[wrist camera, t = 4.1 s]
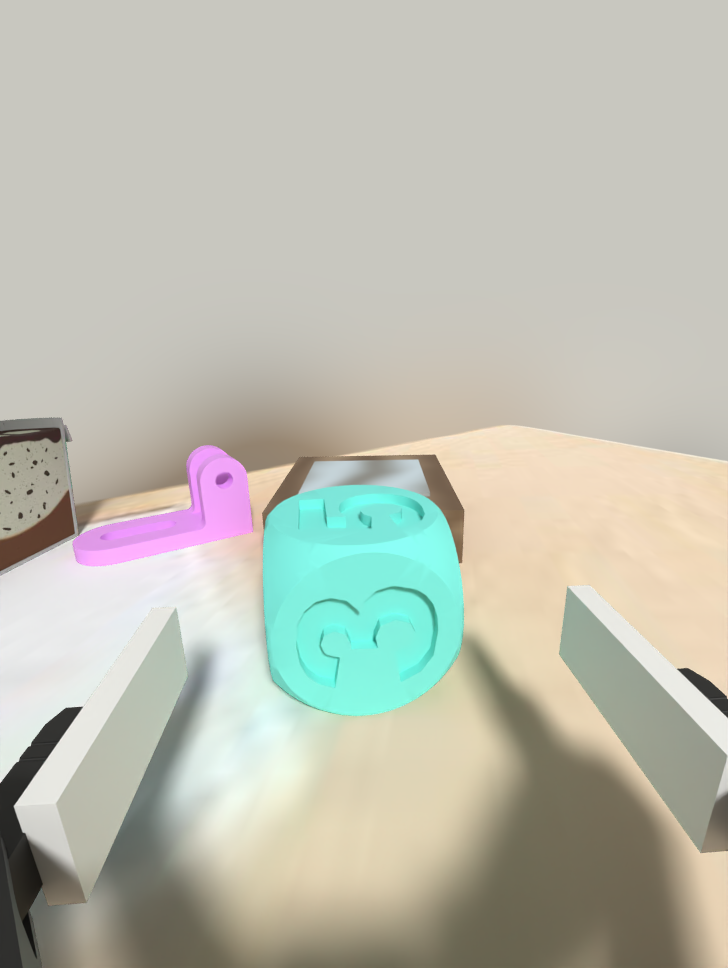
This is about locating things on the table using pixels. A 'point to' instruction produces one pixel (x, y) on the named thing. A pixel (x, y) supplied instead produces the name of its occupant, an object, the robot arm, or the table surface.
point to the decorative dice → (360, 597)
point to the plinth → (377, 482)
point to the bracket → (179, 516)
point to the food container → (34, 490)
